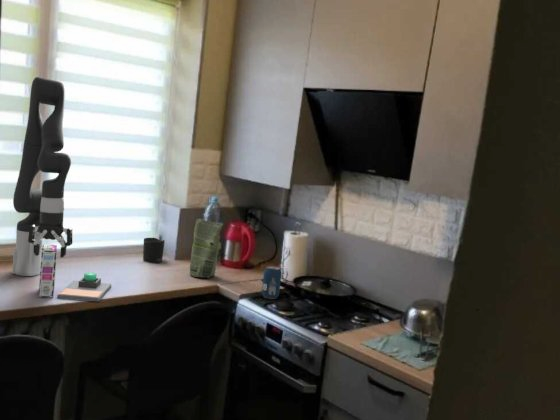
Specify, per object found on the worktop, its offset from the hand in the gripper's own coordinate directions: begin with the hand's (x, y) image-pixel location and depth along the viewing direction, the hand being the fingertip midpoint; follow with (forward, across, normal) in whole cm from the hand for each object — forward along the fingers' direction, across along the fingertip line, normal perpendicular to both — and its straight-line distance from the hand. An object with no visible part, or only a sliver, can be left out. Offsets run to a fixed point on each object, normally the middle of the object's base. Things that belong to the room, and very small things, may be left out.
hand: (49, 256), depth 197 cm
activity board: (+13, +12, +5) cm, 18 cm away
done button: (+10, +12, +10) cm, 19 cm away
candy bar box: (+14, 0, 0) cm, 14 cm away
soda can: (+14, +80, +20) cm, 83 cm away
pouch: (+14, +52, +43) cm, 69 cm away
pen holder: (+13, +27, +63) cm, 70 cm away
